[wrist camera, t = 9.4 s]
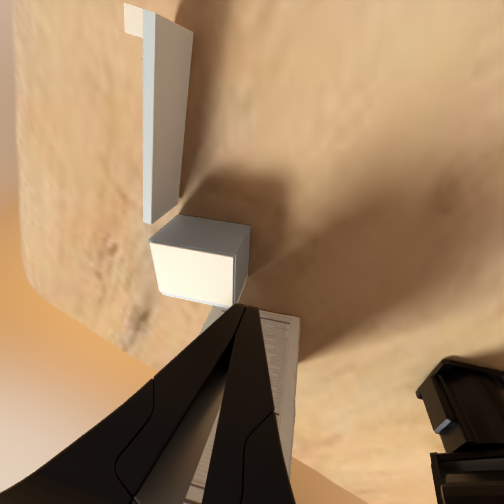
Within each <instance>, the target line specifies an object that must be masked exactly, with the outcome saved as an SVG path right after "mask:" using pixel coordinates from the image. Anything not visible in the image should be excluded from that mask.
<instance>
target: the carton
mask: <svg viewBox="0 0 504 504" xmlns="http://www.w3.org/2000/svg"><path fill="white" fill-rule="evenodd" d="M250 232H251V226H250V225H244V224H237V223H231V222H224V221H218V220H212V219H205V218H199V217H192V216H186V215H180V214H178V215H177V216H175V217H174V218H173V219H172V220H171V221H170V222H168V223H167V224H166V225H165V226H164V227H163V228H161V229H160V230H159V231H158V232H157V233H156V234H155V235H153V236H152V237H151V238H150V239H149V244H150V249H151V254H152V259H153V263H154V268H155V273H156V278H157V282H158V287H159V291H160V292H162V295H167V296H171V297H176V298H181V299H185V300H190V301H195V302H199V303H204V304H209V305H213V306H218V307H223V308H228V309H229V308H230V307H231V306H232V305H233V304H235V303H238V302H239V300H240V297H241V295H242V292H243V289H244V287H245V284H246V282H247V274H248V265H249V248H250Z"/></svg>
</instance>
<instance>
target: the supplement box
mask: <svg viewBox="0 0 504 504" xmlns="http://www.w3.org/2000/svg"><path fill="white" fill-rule="evenodd" d="M226 310H228V308H223V307H218V306H213V307H212V309H211V311H210V313H209V315H208V318H207V320H206V322H205V324H204V326H203V328H202V330H201V332H200V334H201V333H202V332H203V331H204V330H206V329H207V328H208V327H209V326H210V325H211V324H212V323H213V322H214V321H215V320H217V319H218V318H219V317H220V316H221V315H222V314H223V313H224V312H225V311H226ZM259 313H260V319H261V325H262V331H263V338H264V344H265V350H266V356H267V363H268V369H269V375H270V381H271V388H272V394H273V400H274V406H275V413H276V418H277V424H278V430H279V435H280V441H281V446H282V451H283V456H284V460H285V464H286V468H287V472H288V476H289V480H290V475H291V459H292V447H293V435H294V423H295V394H296V382H297V368H298V353H299V339H300V324H301V319H300V318H299V317H295V316H289V315H283V314H278V313H273V312H267V311H262V310H259ZM200 334H199V335H200ZM220 408H221V406H220ZM219 413H220V409H219V411H218V414H217V416H216V419H215V422H214V424H213V427H212V430H211V432H210V435H209V437H208V440H207V443H206V445H205V448H204V451H203V453H202V456H201V458H200V461H199V464H198V466H197V469H196V472H195V474H194V477H193V479H192V482H191V485H190V487H189V490H188V493H187V495H186V498H185V500H184V503H183V504H202V499H203V494H204V489H205V484H206V479H207V473H208V468H209V463H210V458H211V453H212V448H213V443H214V438H215V433H216V428H217V423H218V418H219Z"/></svg>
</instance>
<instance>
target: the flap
mask: <svg viewBox="0 0 504 504" xmlns="http://www.w3.org/2000/svg"><path fill="white" fill-rule="evenodd" d="M124 21H125V33H128V34H131V35H134V36H137V37H140V38H143V222H144V223H147V224H150V225H152V224H153V223H154V222H155V221H157V220H158V219H159V218H160V217H162V216H163V215H164V214H166V213H167V212H168V211H169V210H171V209H172V208H173V207H174V206H176V205H177V204H178V199H179V188H180V177H181V166H182V155H183V144H184V133H185V122H186V111H187V100H188V89H189V78H190V67H191V56H192V46H193V35H194V32H193V31H191V30H189V29H187V28H185V27H183V26H181V25H178V24H176V23H174V22H172V21H170V20H168V19H166V18H164V17H162V16H160V15H158V14H156V13H153V12H150V11H147V10H144V9H141V8H138V7H135V6H132V5H129V4H126V3H124Z"/></svg>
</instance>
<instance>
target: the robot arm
mask: <svg viewBox="0 0 504 504" xmlns="http://www.w3.org/2000/svg"><path fill="white" fill-rule="evenodd" d="M416 396H417V398H418V399H422V400H423V401H424V404H425V407H426V410H427V413H428V416H429V419H430V422H431V425H432V427H433V430H434V431H435V433H436V434H440V437H441V440H442V443H443V446H444V448H445V451H446V453H437V452H434V453H430V457H431V468H432V474H433V480H434V485H435V491H436V497H437V503H438V504H504V372H500V371H495V370H491V369H486V368H482V367H477V366H472V365H468V364H463V363H458V362H454V361H449V360H444V361H442V362H440V363H439V365H438V366H437V367H436V368H435V369H434V371H433V372H432V373H431V374H430V375H429V377H428V378H427V379H426V380H425V381H424V383H423V384H422V385H421V386H420V387H419V389H418V390H417V391H416ZM220 406H221V408H220ZM219 409H220V413H219V418H218V423H217V428H216V433H215V438H214V443H213V448H212V453H211V458H210V463H209V468H208V473H207V479H206V484H205V489H204V494H203V499H202V504H296V503H295V499H294V495H293V492H292V488H291V484H290V480H289V476H288V472H287V468H286V464H285V460H284V456H283V451H282V446H281V441H280V435H279V430H278V424H277V418H276V413H275V406H274V400H273V394H272V388H271V381H270V375H269V369H268V363H267V356H266V350H265V344H264V338H263V331H262V325H261V319H260V313H259V309H258V308H257V307H252V306H247V307H246V305H243V304H238V303H235V304H233V305H232V306H231V307H230V308H229V309H228V310H226V311H225V312H224V313H223V314H222V315H221V316H220V317H219V318H218V319H217V320H215V321H214V322H213V323H212V324H211V325H210V326H209V327H208V328H207V329H206V330H204V331H203V332H202V333H201V334H200V335H199V336H198V337H197V338H196V339H195V340H193V341H192V342H191V343H190V344H189V345H188V346H187V347H186V348H185V349H184V350H182V351H181V352H180V353H179V354H178V355H177V356H176V357H175V358H174V359H173V360H171V361H170V362H169V363H168V364H167V365H166V366H165V367H164V368H163V369H162V370H160V371H159V372H158V373H157V374H156V375H155V376H154V379H150V380H149V381H148V382H147V383H146V384H145V385H144V386H143V387H142V388H141V389H140V390H138V391H137V392H136V393H135V394H134V395H133V396H131V397H130V398H129V399H128V400H127V401H126V402H124V404H122V405H121V406H120V407H118V408H117V409H116V410H115V411H113V412H112V413H111V414H110V415H108V416H107V417H106V418H105V419H103V420H102V421H101V422H100V423H98V424H97V425H95V426H94V427H93V428H91V429H90V430H89V431H88V432H86V433H85V434H84V435H82V436H81V437H80V438H78V439H77V440H76V441H75V442H73V443H72V444H71V445H69V446H68V447H67V448H65V449H64V450H63V451H61V452H60V453H59V454H57V455H56V456H55V457H53V458H52V459H51V460H50V461H48V462H47V463H46V464H44V465H43V466H42V467H40V468H39V469H37V470H36V471H35V472H33V473H32V474H30V475H29V476H27V477H26V478H25V479H23V480H21V481H20V482H18V483H16V484H15V485H13V486H12V487H10V488H8V489H6V490H4V491H3V492H1V493H0V504H183V503H184V500H185V498H186V495H187V493H188V490H189V487H190V485H191V482H192V479H193V477H194V474H195V472H196V469H197V466H198V464H199V461H200V458H201V456H202V453H203V451H204V448H205V445H206V443H207V440H208V437H209V435H210V432H211V430H212V427H213V424H214V422H215V419H216V416H217V414H218V411H219Z"/></svg>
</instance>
